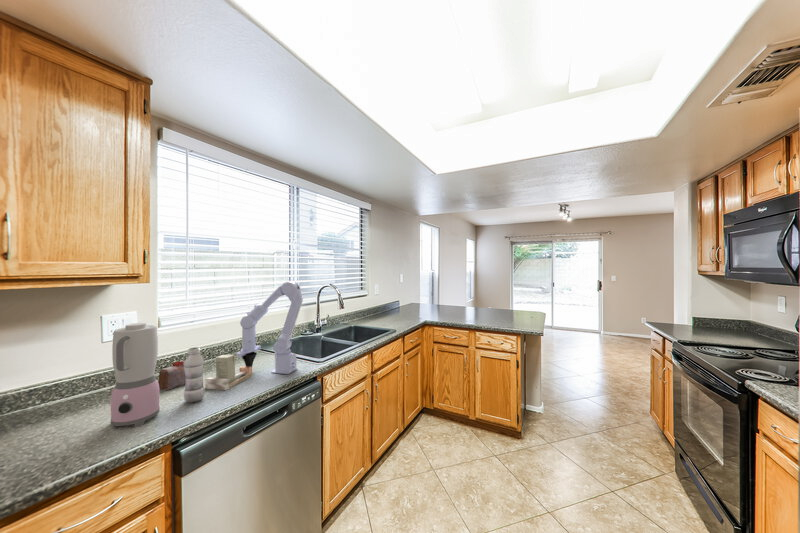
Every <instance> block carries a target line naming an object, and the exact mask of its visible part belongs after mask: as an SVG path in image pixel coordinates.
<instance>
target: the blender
mask: <svg viewBox="0 0 800 533" xmlns="http://www.w3.org/2000/svg"><path fill="white" fill-rule="evenodd" d="M158 336H159V335H158V328H157V326H156V325H152V324H151V325H150V324H149V325H147V323H145V322H137V323H128V324H126V325H125V327H121V328H118V329H115V330H114V331H113V333H112V345H111V346H112V349H111V350H112V356H111V358H112V367H113V370H114V374H115V379H116V380H115V381H116V383H115V386H114V388H112V392H111V395H110V426H111V429H113V430H115V429H117V427H123V426H130V425H134V426H135V427H137V428H138V427H141V426H143V425H144V424H145V421H147V420H149V419H151V418H153V417H155V416H157V415H159V413H160V411H161V407H160V389H159V384H158V381H159V380H157V378H156V376H155V372H156V366H157V362H158V355H159V354H158V352H159V342H158V341H159V338H158ZM135 427H134V428H135Z"/></svg>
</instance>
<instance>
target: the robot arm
mask: <svg viewBox="0 0 800 533" xmlns="http://www.w3.org/2000/svg"><path fill="white" fill-rule="evenodd" d="M283 296H286V297H287V298H288V300H289V301H290V305H289V308H288V312H287V314H286V318H285V320H284V324H283V327H282V330H281V332H280V335H279V337H278V339H277V341H276V342H275V343H274V345H273V351H274V369H273V370H272V371H271V374H285V375H289V374H291V373H293V372H294V371H296V370H297V369H298V367H297V355H296V353H295V352H292V351H291V346H292V344H293V342H292V337H293V332H294V329H295V326H296V324H297V319H298V317H299V313H300V310H301V308H302V304H303V301H304V300H303V295H302V291H301V286H300V285H299V284H298V283H297V282H296V281H294V280H291V281H285V282H283V283H282V284H281V285H280V286H278V287H277V288H276V289H275V290H274V291H273V292H272V294H270V296H268V297H267V298H266V299H265V301H264V302H262V303H258V304H255V305H254V306H253V309H252V310H251V311H249V312H246V315H244V316H243V317H242V318H241V319H240V323H239V324H240V326H241V330H242V331H241V333H242V334H241V335H242V336H241V339H242V340H241V341H242V345H241V348H240V351H238V352H236V353H235V356H236V357H235V358H239V359H240V358H241V359H242V360H243V362H244V364H245V365H244V366H249V367H252V368H253V364H254V360H255V358H256V356H257V355H258V353H257V352H256V351H260V350H261V349H262V348H261V347H262V346H261V345H256V342H257V341H256V325H257V323H258V321H260V320H261V318H263V316H265V315H266V314H267V312H269V307H271V305H272V304H274V303H275V301H277V300H278V299H279V298H280V297H283Z"/></svg>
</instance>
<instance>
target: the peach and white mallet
mask: <svg viewBox="0 0 800 533" xmlns="http://www.w3.org/2000/svg"><path fill="white" fill-rule="evenodd" d="M249 373H250V374H251V375H252V374H253V366H252V367H249V366H246V365H243V366H240V367H239V372H237V373H235V379H238V378H240V377H242V376H245V375H247V374H249Z"/></svg>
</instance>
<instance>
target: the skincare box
mask: <svg viewBox="0 0 800 533" xmlns="http://www.w3.org/2000/svg"><path fill="white" fill-rule="evenodd" d="M235 358H236V357H235V354H221V355H219V356H216V357H215V378H223V379H229V383H231V382H233V381H235V380H236V378H235V375H236V366H235V364H236V362H235V361H236V360H235Z"/></svg>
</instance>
